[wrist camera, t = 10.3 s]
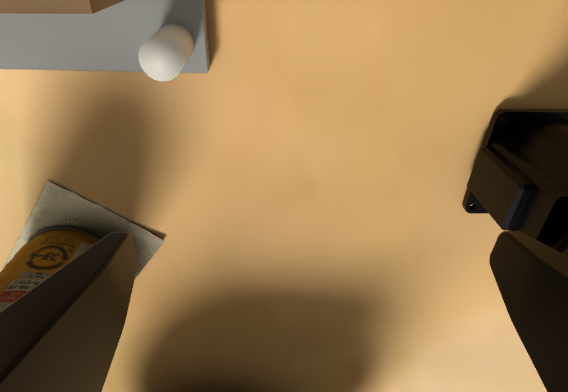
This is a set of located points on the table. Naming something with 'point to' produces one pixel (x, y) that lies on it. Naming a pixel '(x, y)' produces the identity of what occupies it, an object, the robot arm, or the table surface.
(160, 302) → the table surface
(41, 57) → the chassis
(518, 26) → the table surface
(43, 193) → the condiment
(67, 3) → the block
